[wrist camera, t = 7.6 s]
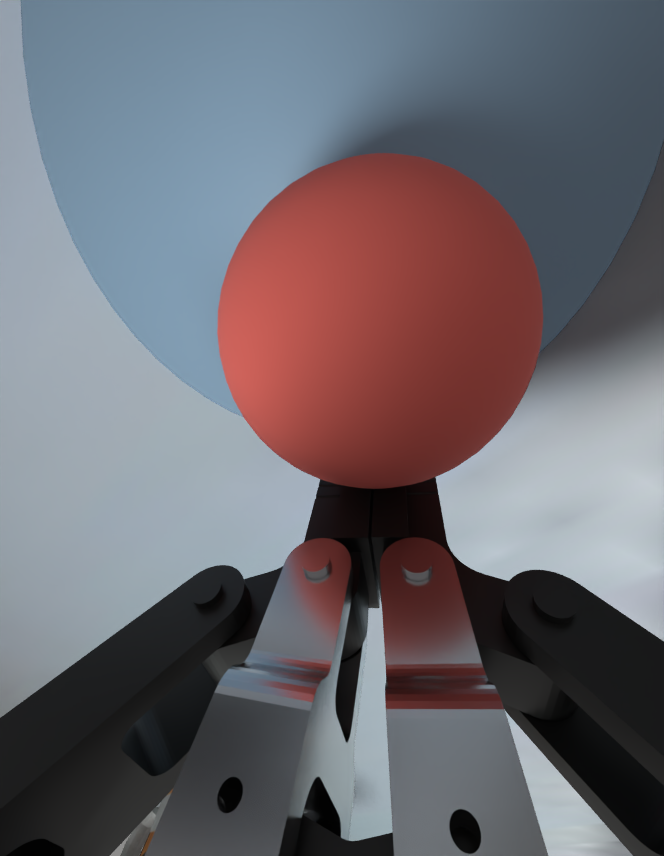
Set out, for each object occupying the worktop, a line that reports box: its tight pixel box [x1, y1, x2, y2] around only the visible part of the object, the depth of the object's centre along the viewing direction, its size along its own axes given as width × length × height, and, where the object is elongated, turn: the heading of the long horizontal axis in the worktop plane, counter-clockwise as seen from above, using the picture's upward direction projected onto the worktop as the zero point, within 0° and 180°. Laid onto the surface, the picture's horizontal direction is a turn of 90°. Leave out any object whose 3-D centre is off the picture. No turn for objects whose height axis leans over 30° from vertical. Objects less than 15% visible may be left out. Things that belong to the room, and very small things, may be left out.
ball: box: [217, 153, 543, 489], centre depth 7 cm, size 6×6×6 cm
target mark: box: [21, 0, 664, 417], centre depth 8 cm, size 14×14×1 cm
